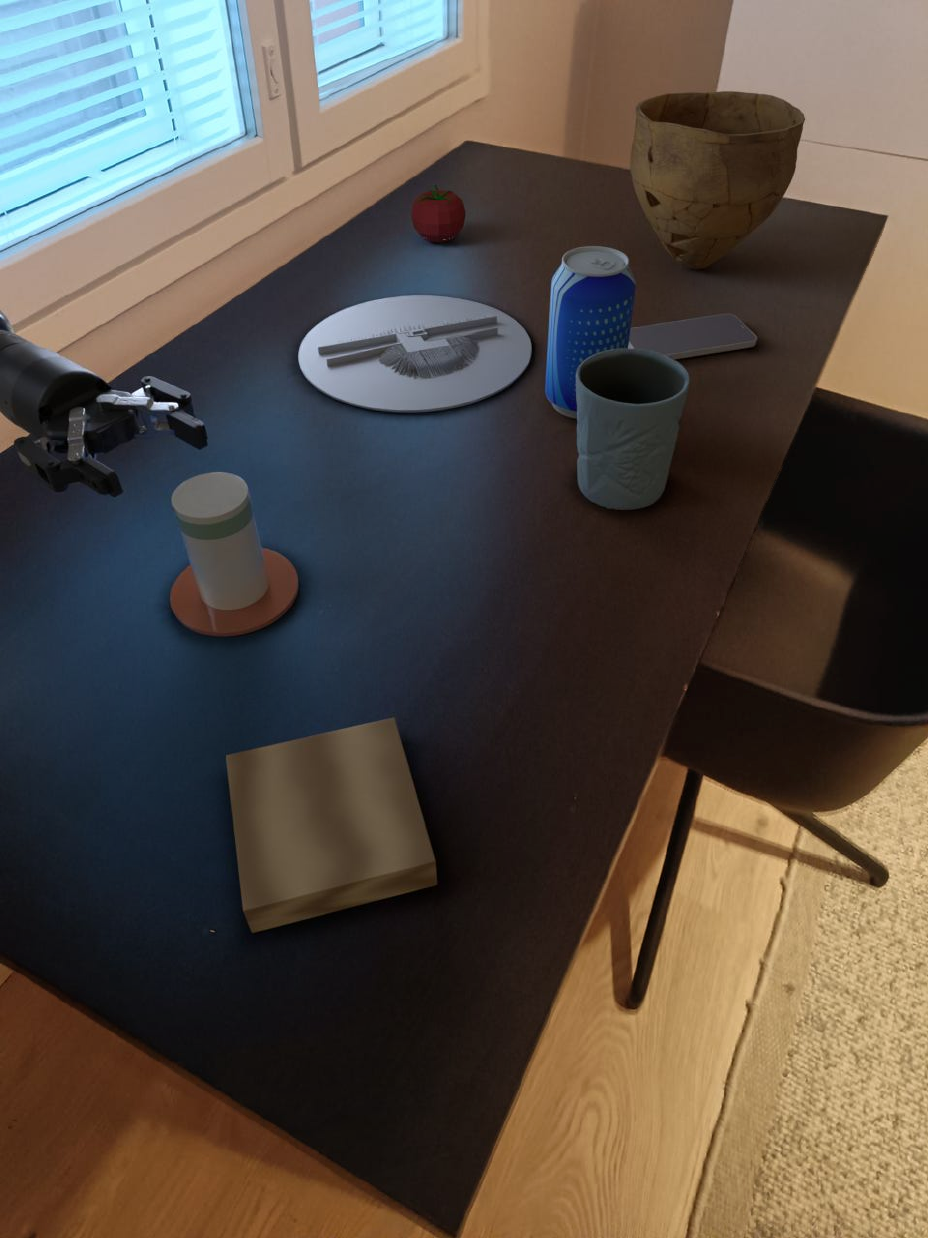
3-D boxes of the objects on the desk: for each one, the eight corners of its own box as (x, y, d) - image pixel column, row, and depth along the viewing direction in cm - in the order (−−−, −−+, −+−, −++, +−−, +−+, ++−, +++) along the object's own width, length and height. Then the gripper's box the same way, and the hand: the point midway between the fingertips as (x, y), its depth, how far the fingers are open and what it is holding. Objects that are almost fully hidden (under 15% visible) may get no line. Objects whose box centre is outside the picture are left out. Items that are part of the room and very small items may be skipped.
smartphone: (618, 329, 109) (732, 312, 111) (618, 336, 110) (730, 319, 112) (642, 358, 104) (760, 340, 106) (641, 366, 105) (759, 347, 107)
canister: (239, 620, 75) (214, 527, 68) (184, 596, 77) (154, 503, 70) (283, 577, 79) (264, 484, 72) (229, 555, 81) (205, 463, 74)
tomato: (403, 234, 132) (400, 180, 127) (450, 224, 135) (449, 170, 130) (426, 254, 127) (424, 198, 122) (475, 243, 130) (475, 188, 124)
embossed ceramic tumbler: (668, 520, 84) (689, 409, 76) (561, 509, 86) (570, 399, 77) (671, 458, 91) (690, 350, 83) (572, 449, 93) (581, 342, 84)
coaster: (174, 648, 73) (172, 644, 73) (168, 563, 81) (167, 559, 81) (307, 621, 75) (306, 617, 75) (289, 540, 83) (289, 536, 83)
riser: (251, 933, 56) (242, 911, 54) (234, 780, 64) (225, 755, 62) (437, 885, 58) (435, 861, 56) (397, 742, 66) (394, 717, 64)
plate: (487, 284, 120) (487, 275, 119) (567, 387, 101) (568, 377, 101) (280, 316, 115) (279, 307, 114) (324, 431, 96) (322, 421, 95)
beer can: (558, 428, 96) (568, 282, 84) (535, 388, 101) (542, 246, 90) (632, 417, 97) (652, 272, 86) (605, 378, 103) (620, 237, 91)
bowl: (587, 266, 124) (601, 105, 110) (679, 225, 133) (702, 73, 119) (710, 317, 113) (743, 145, 99) (800, 269, 122) (842, 106, 108)
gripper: (-42, 392, 74) (70, 462, 66) (105, 328, 82) (220, 384, 74) (-7, 467, 79) (100, 540, 72) (128, 400, 87) (237, 460, 79)
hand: (161, 461), depth 73 cm, fingers open, 8 cm apart
